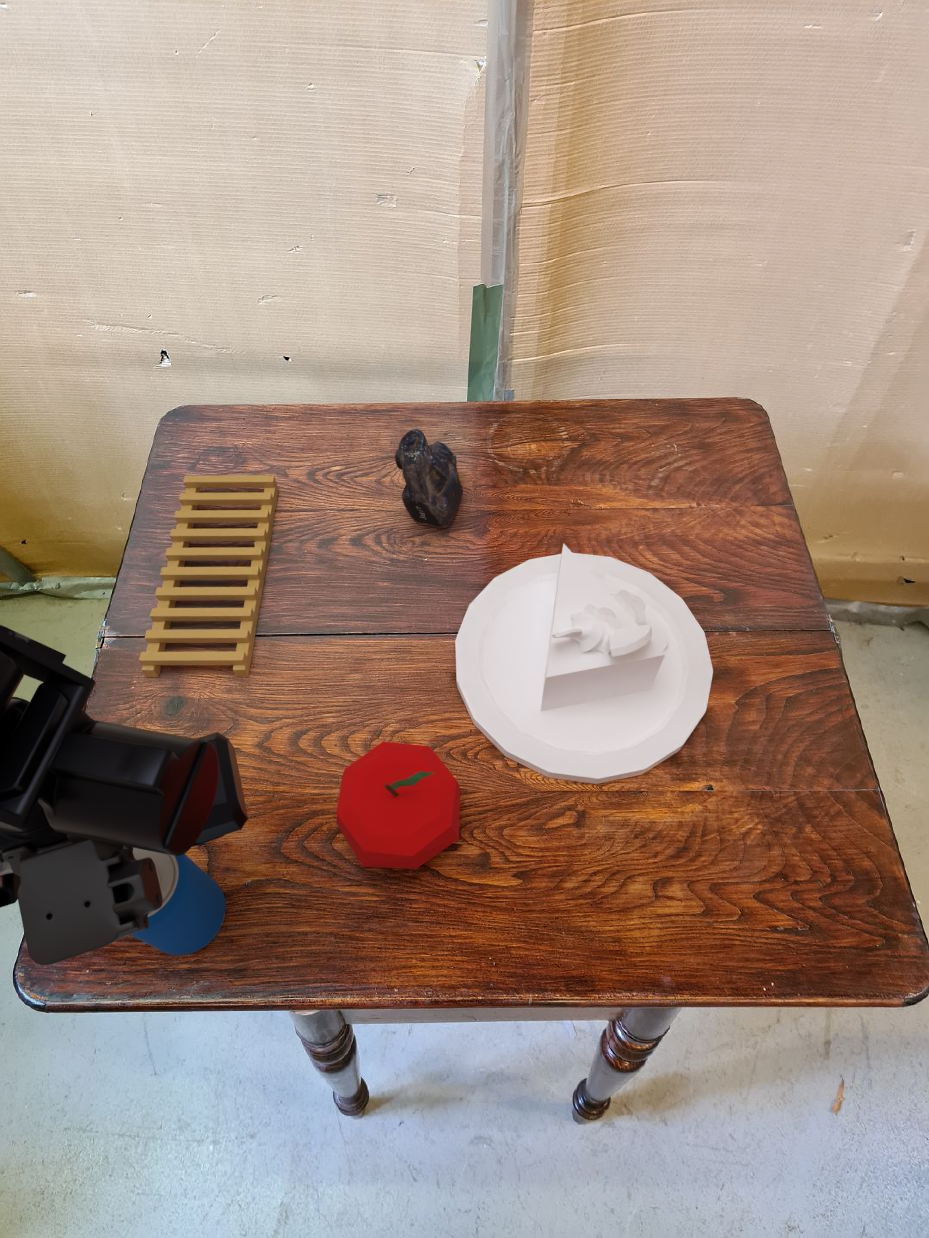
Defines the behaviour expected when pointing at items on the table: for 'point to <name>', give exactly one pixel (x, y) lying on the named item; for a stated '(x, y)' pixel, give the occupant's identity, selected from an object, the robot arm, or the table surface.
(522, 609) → the dish
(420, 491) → the statue
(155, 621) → the rack
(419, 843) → the apple
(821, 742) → the table surface
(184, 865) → the beverage can
